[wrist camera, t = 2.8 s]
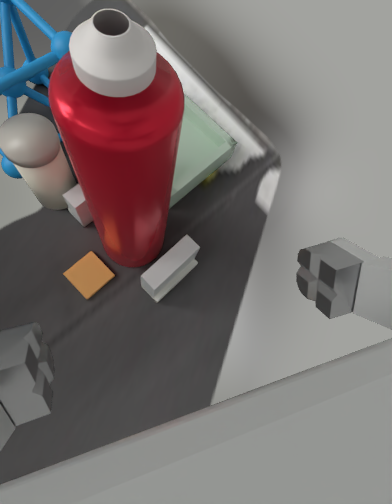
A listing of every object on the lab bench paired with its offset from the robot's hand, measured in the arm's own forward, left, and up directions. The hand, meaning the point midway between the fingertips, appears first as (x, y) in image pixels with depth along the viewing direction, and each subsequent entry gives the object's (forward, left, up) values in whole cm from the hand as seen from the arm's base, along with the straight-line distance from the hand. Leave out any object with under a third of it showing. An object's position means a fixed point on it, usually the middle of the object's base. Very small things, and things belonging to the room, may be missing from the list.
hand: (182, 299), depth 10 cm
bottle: (-8, +4, -18) cm, 20 cm away
